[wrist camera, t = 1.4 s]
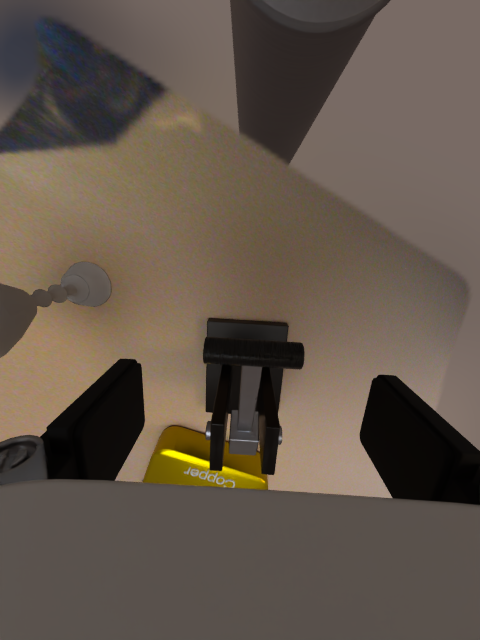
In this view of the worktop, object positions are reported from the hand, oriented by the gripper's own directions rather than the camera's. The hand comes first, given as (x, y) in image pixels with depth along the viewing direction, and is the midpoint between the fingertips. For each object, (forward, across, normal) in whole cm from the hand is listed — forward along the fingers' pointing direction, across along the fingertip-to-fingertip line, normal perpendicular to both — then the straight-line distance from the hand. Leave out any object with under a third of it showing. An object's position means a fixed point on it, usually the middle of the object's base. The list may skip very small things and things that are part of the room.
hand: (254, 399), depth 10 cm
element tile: (+20, +5, +27) cm, 33 cm away
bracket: (+19, 0, +9) cm, 21 cm away
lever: (+7, 0, +4) cm, 8 cm away
